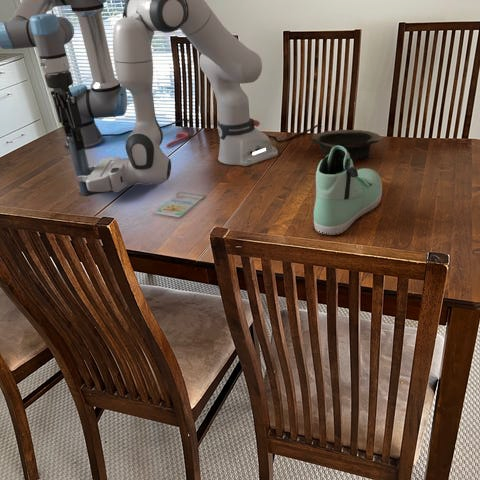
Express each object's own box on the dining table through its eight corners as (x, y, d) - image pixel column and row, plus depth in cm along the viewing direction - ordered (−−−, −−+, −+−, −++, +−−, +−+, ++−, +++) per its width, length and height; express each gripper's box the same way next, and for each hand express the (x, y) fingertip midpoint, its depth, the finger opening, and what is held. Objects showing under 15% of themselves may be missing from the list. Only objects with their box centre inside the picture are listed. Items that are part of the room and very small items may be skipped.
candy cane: (157, 146, 195) (156, 142, 195) (181, 134, 206) (181, 131, 205) (168, 148, 192) (167, 144, 192) (192, 136, 202) (191, 132, 202)
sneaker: (389, 187, 148) (396, 123, 138) (356, 242, 123) (361, 168, 112) (346, 181, 154) (350, 119, 144) (306, 232, 129) (307, 161, 118)
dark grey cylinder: (88, 196, 159) (74, 140, 149) (78, 193, 161) (63, 139, 151) (97, 190, 162) (84, 135, 152) (88, 188, 164) (74, 134, 154)
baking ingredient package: (153, 211, 144) (180, 191, 155) (154, 213, 144) (180, 193, 156) (178, 216, 140) (203, 195, 152) (178, 217, 141) (204, 197, 152)
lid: (78, 135, 155) (77, 130, 154) (85, 138, 151) (84, 133, 151) (63, 139, 152) (62, 134, 151) (70, 143, 149) (69, 138, 148)
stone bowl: (339, 174, 158) (339, 147, 154) (298, 157, 178) (296, 133, 174) (397, 156, 167) (398, 130, 163) (351, 141, 187) (350, 118, 183)
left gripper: (33, 71, 145) (54, 144, 157) (57, 78, 133) (78, 157, 145) (57, 66, 149) (75, 138, 161) (82, 73, 137) (100, 150, 149)
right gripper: (127, 151, 165) (87, 153, 165) (112, 175, 147) (68, 178, 148) (130, 168, 168) (92, 170, 169) (116, 194, 150) (73, 196, 151)
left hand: (76, 147), depth 153 cm, fingers closed on lid, 5 cm apart
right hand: (81, 174), depth 158 cm, fingers closed on dark grey cylinder, 4 cm apart
